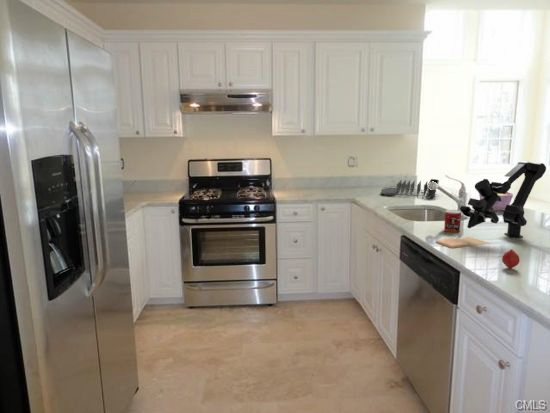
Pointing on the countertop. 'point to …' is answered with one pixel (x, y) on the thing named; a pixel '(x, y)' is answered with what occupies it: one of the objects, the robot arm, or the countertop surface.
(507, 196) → the bowl of food
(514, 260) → the onion
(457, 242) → the tile
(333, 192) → the countertop surface
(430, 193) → the dish rack
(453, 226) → the canned food
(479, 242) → the mat
